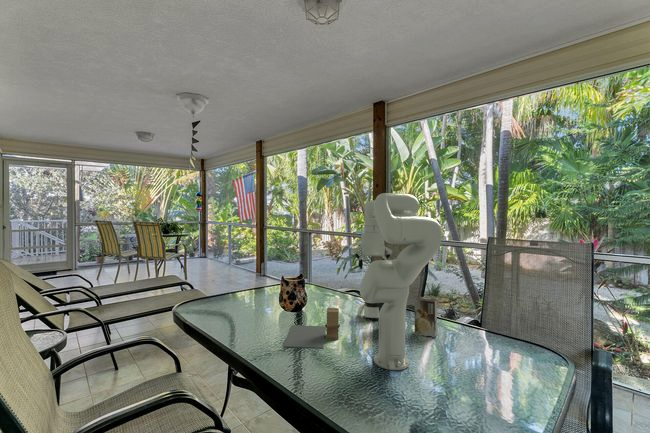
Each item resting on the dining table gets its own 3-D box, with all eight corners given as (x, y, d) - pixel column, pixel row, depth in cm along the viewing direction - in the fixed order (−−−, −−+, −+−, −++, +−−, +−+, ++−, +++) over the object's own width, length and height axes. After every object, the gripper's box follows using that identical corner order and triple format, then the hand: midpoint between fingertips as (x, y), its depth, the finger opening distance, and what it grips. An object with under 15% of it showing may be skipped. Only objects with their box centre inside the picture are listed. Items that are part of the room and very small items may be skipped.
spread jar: (380, 321, 160) (381, 298, 160) (358, 321, 161) (358, 298, 161) (377, 314, 172) (377, 292, 172) (356, 313, 173) (356, 292, 173)
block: (338, 339, 137) (338, 311, 137) (326, 339, 137) (326, 311, 137) (338, 335, 142) (338, 308, 142) (327, 334, 142) (327, 307, 142)
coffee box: (437, 333, 145) (437, 298, 145) (435, 338, 140) (435, 301, 139) (416, 330, 149) (417, 295, 149) (413, 334, 144) (414, 299, 144)
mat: (323, 348, 128) (323, 347, 128) (283, 347, 128) (283, 346, 128) (325, 327, 152) (325, 326, 152) (292, 326, 152) (292, 325, 152)
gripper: (390, 229, 143) (390, 267, 144) (352, 229, 143) (351, 267, 143) (394, 230, 136) (393, 270, 136) (354, 230, 135) (353, 270, 136)
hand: (372, 268), depth 140 cm, fingers open, 9 cm apart
